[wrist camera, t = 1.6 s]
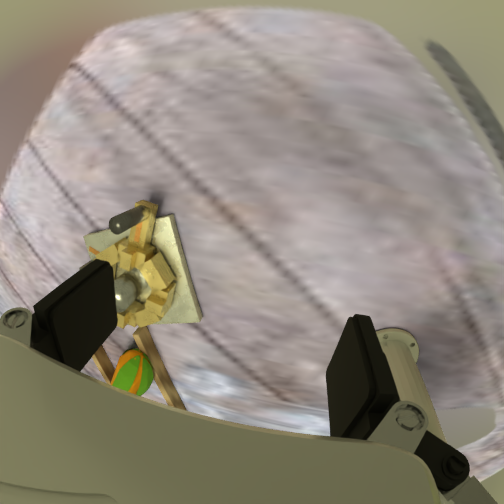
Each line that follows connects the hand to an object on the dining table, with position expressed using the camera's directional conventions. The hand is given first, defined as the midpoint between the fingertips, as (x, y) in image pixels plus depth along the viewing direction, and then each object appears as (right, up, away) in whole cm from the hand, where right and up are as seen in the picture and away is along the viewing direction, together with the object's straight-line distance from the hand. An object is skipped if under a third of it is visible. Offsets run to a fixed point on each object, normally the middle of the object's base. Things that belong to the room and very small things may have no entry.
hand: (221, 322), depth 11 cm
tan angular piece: (-15, +1, +29) cm, 32 cm away
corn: (-22, -21, +40) cm, 50 cm away
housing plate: (-16, -1, +31) cm, 35 cm away
